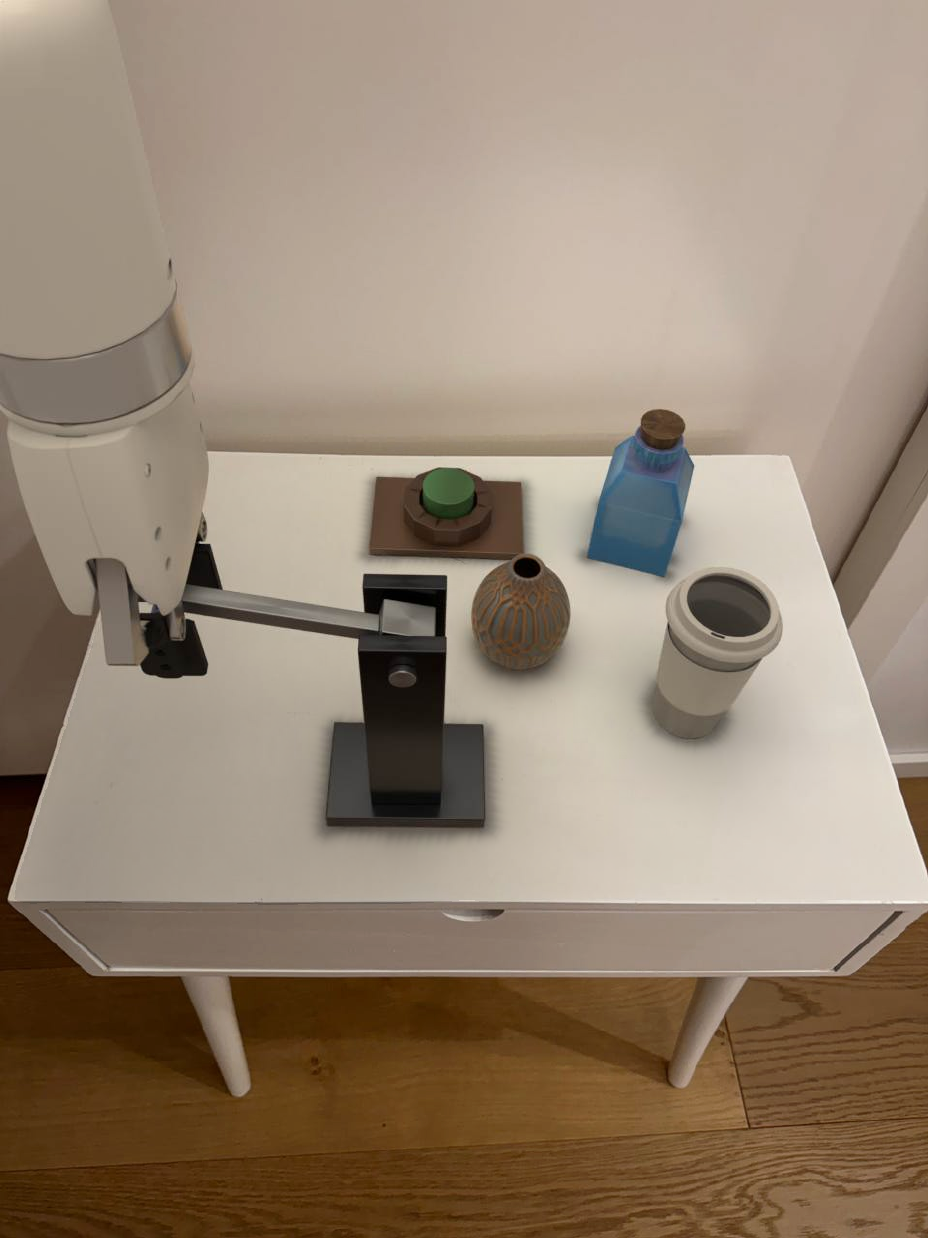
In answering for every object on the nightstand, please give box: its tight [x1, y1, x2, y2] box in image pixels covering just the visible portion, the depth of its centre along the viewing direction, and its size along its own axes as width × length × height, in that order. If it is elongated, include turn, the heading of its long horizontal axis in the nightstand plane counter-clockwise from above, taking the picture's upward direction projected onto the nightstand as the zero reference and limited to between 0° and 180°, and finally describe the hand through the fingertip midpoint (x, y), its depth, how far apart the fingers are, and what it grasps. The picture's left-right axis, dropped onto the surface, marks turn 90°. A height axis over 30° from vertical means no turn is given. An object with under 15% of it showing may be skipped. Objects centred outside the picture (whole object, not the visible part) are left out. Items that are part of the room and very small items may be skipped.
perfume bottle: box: [586, 408, 695, 578], centre depth 72 cm, size 6×6×12 cm
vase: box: [470, 553, 572, 670], centre depth 66 cm, size 7×7×9 cm
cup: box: [652, 566, 784, 739], centre depth 62 cm, size 7×7×12 cm
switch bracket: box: [325, 573, 486, 828], centre depth 56 cm, size 10×7×18 cm
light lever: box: [150, 584, 436, 640], centre depth 49 cm, size 14×4×2 cm, turn 90°
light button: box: [423, 467, 474, 519], centre depth 74 cm, size 4×4×2 cm
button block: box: [368, 466, 525, 560], centre depth 76 cm, size 12×8×2 cm, turn 89°
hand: (184, 630), depth 50 cm, fingers closed on light lever, 4 cm apart
